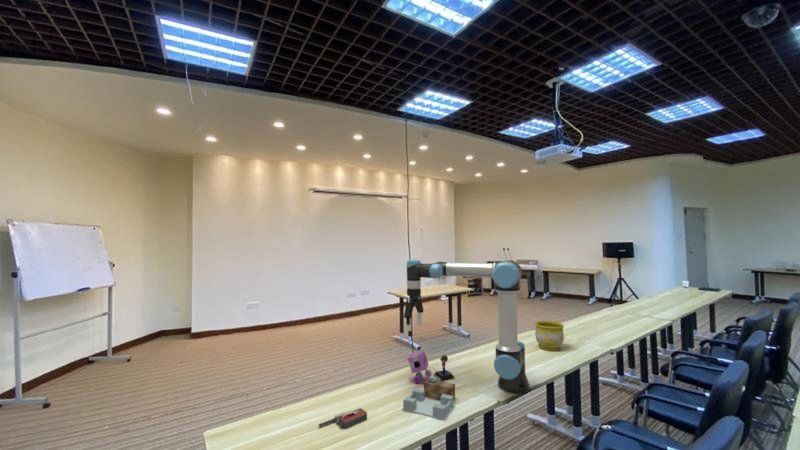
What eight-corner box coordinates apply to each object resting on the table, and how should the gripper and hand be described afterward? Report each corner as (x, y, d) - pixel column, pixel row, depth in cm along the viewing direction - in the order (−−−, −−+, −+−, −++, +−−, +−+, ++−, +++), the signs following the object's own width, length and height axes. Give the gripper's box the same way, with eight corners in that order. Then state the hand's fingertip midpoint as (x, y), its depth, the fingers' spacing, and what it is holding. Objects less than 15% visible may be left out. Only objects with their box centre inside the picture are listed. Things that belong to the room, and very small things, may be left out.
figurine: (433, 376, 189) (433, 354, 190) (446, 373, 193) (446, 352, 193) (440, 381, 182) (440, 358, 183) (454, 378, 186) (453, 356, 186)
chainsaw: (359, 411, 153) (317, 427, 140) (359, 401, 153) (317, 416, 140) (370, 419, 146) (327, 437, 133) (370, 409, 146) (327, 425, 133)
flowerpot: (569, 352, 225) (568, 327, 226) (541, 352, 226) (541, 327, 226) (557, 343, 243) (556, 320, 244) (531, 344, 244) (531, 320, 244)
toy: (430, 384, 177) (421, 355, 179) (416, 387, 179) (407, 359, 181) (433, 376, 188) (424, 349, 190) (419, 380, 189) (410, 353, 191)
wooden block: (455, 398, 163) (455, 381, 164) (452, 403, 159) (451, 385, 159) (427, 393, 170) (427, 376, 170) (424, 397, 165) (423, 380, 165)
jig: (454, 406, 156) (454, 396, 156) (445, 420, 144) (444, 409, 144) (414, 397, 165) (414, 387, 165) (402, 409, 153) (402, 399, 153)
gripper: (416, 284, 199) (417, 321, 199) (397, 290, 177) (397, 332, 176) (428, 285, 196) (429, 322, 195) (410, 291, 174) (410, 334, 173)
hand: (414, 327), depth 186 cm, fingers open, 13 cm apart
